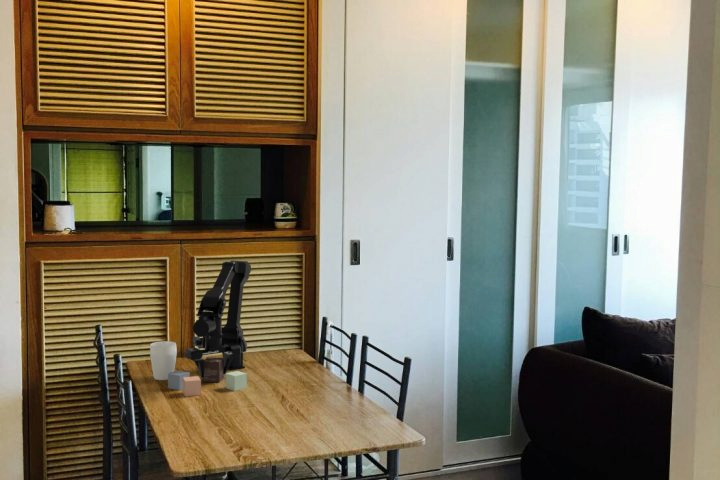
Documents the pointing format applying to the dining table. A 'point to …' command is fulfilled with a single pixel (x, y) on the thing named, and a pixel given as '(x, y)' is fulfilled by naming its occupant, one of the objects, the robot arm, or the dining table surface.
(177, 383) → the cube slate
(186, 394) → the cube terracotta
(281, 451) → the dining table surface
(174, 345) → the cup
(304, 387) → the dining table surface
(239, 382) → the cube sage
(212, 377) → the box
